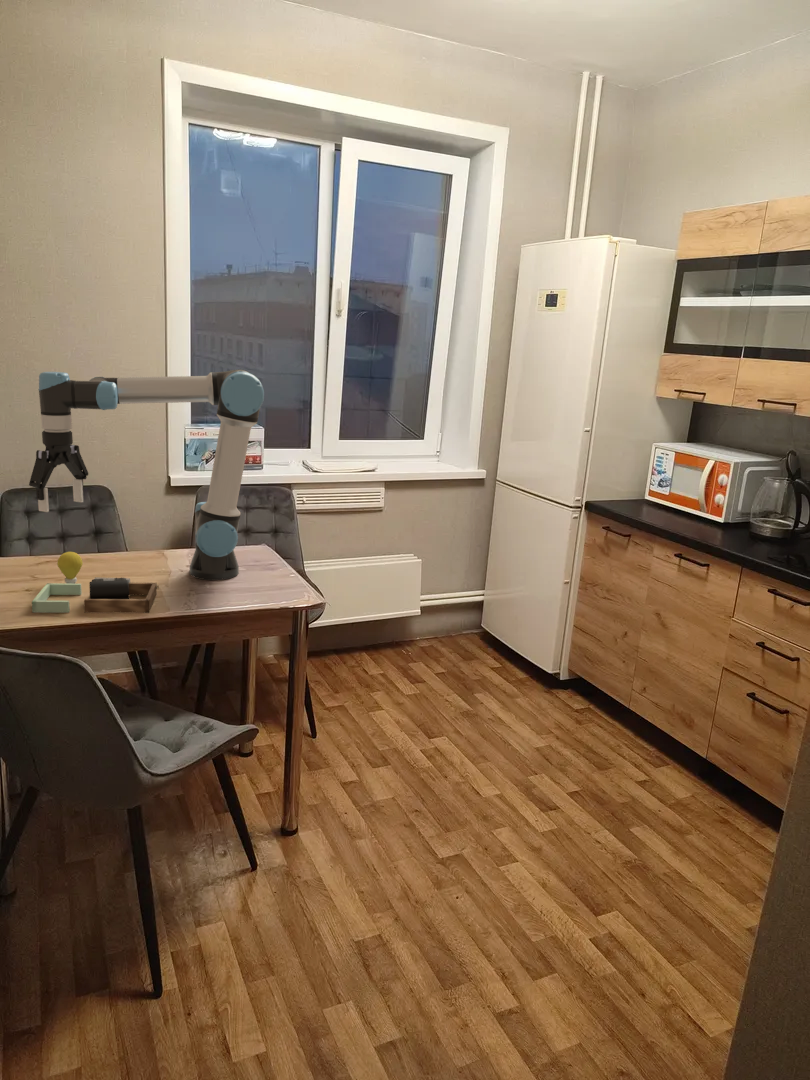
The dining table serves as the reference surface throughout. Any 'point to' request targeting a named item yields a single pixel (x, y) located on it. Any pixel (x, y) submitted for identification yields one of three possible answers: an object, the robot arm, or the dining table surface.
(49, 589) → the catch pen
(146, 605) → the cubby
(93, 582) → the end cap
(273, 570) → the dining table surface
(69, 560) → the light bulb
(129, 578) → the grey metal bar
